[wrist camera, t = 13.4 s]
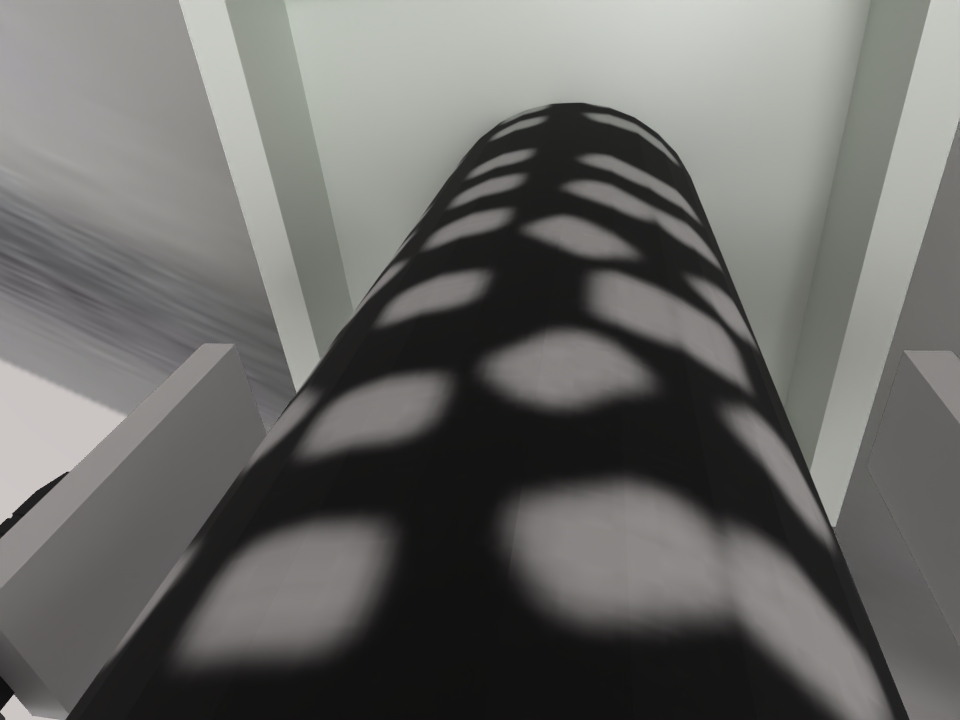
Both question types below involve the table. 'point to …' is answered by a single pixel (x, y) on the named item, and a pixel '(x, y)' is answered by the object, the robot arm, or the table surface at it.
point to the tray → (631, 90)
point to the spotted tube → (523, 484)
